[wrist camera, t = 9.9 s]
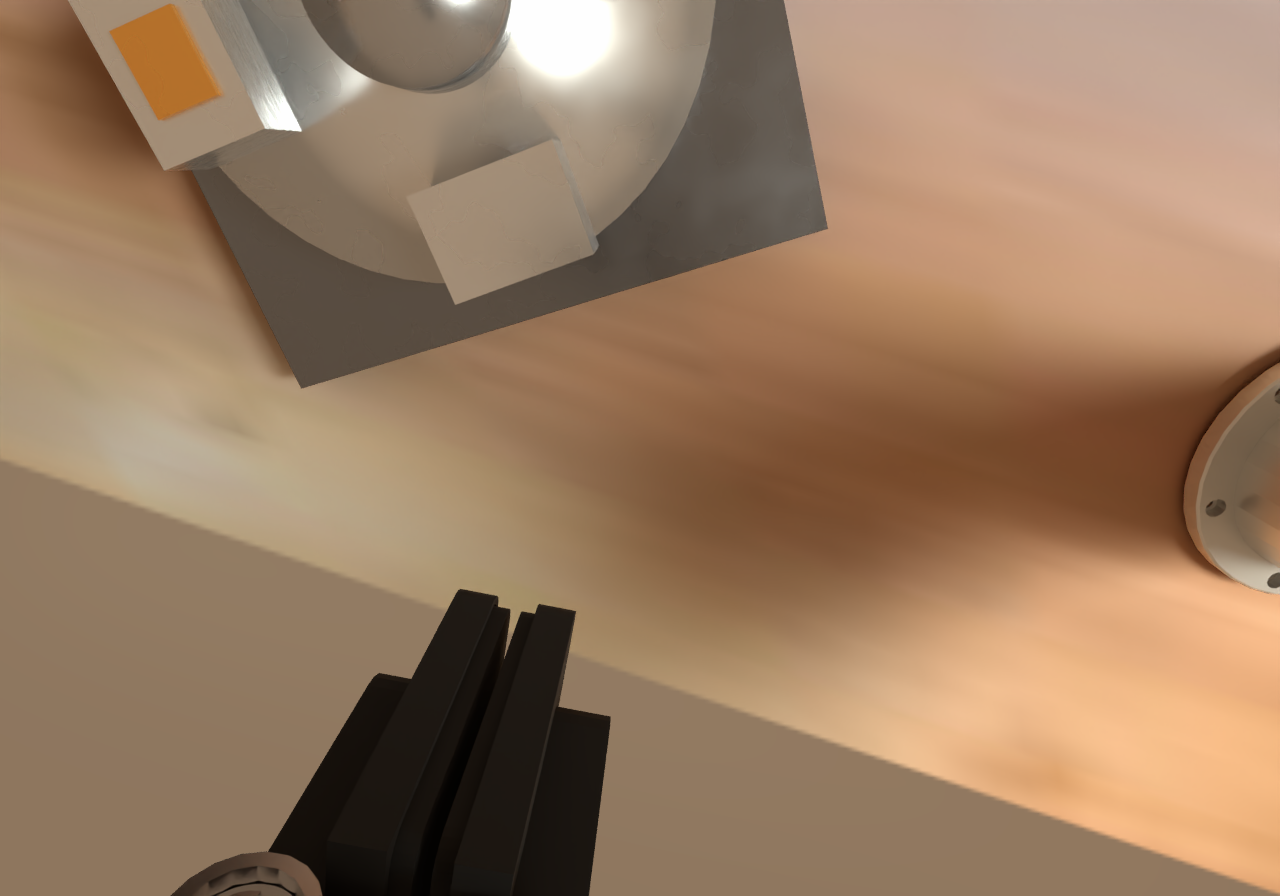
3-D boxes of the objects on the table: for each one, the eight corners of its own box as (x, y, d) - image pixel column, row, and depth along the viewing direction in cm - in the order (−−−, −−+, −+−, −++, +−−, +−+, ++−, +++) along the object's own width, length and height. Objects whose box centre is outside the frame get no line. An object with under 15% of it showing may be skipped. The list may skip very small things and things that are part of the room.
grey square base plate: (665, -536, 20) (666, -612, 18) (816, 224, 28) (828, 229, 26) (18, -247, 23) (-43, -286, 21) (322, 374, 31) (299, 390, 29)
